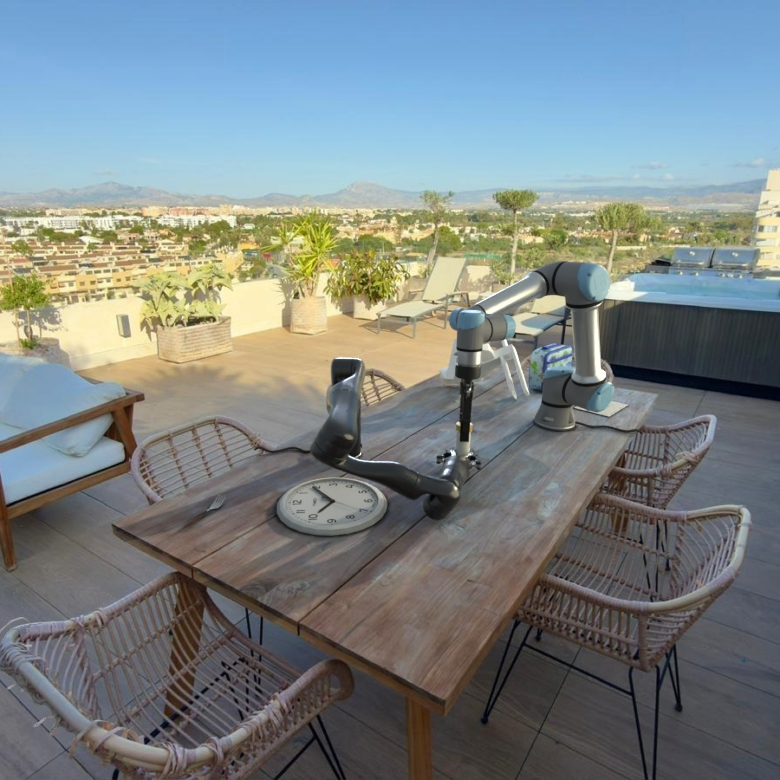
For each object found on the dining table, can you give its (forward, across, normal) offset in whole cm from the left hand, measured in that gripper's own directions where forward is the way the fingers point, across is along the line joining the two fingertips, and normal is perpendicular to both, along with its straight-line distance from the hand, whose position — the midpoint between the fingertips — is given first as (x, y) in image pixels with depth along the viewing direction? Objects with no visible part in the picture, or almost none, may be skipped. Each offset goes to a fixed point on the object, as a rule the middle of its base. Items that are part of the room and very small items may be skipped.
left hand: (463, 450), depth 164 cm
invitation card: (+81, -46, +6) cm, 93 cm away
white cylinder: (-3, 0, +6) cm, 7 cm away
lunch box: (+102, -24, +6) cm, 105 cm away
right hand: (-3, 0, -5) cm, 6 cm away
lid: (-3, 0, -9) cm, 10 cm away
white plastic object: (+83, +7, +6) cm, 83 cm away
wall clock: (-34, +30, +6) cm, 46 cm away
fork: (-50, +59, +6) cm, 78 cm away
